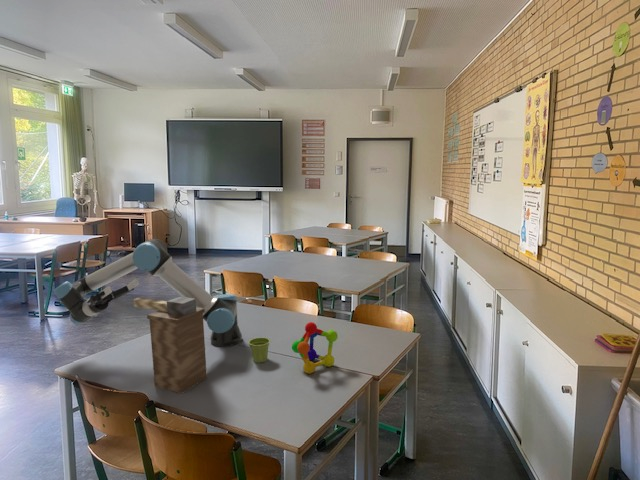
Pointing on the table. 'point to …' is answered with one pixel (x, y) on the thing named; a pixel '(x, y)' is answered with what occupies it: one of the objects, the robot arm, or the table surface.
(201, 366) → the stand
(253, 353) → the plant pot
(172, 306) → the mallet
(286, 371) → the table surface
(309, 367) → the molecular model
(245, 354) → the table surface
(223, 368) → the table surface
